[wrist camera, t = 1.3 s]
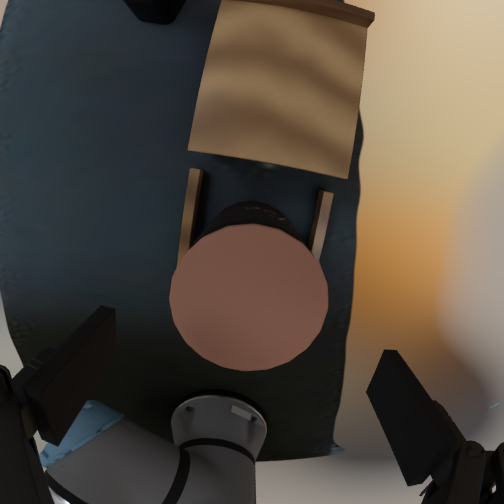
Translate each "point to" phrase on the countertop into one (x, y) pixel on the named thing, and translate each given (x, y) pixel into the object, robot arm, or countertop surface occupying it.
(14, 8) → the countertop surface
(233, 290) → the coffee jar
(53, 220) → the countertop surface
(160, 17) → the wine bottle
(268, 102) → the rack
